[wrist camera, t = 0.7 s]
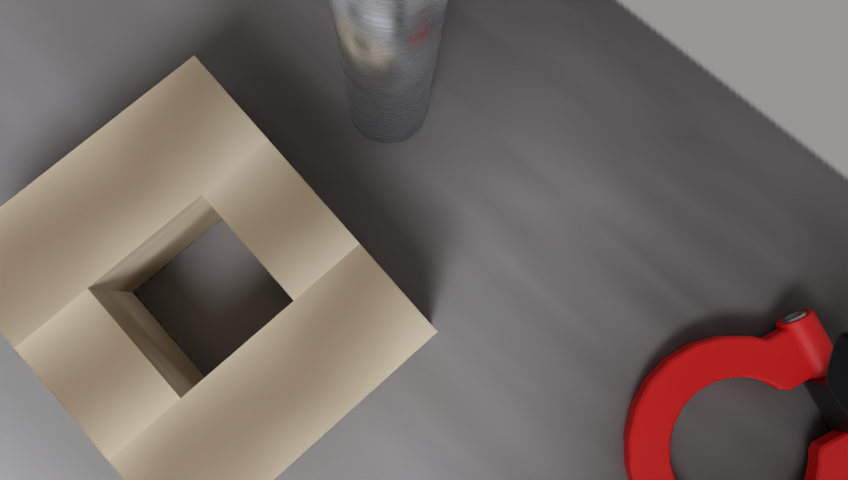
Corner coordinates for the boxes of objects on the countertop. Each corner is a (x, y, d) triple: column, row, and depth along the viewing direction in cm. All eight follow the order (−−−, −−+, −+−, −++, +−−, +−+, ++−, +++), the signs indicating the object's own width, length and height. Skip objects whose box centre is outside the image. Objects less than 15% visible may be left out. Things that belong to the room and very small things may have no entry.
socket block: (430, 329, 24) (437, 331, 20) (219, 519, 22) (188, 556, 19) (222, 92, 24) (194, 55, 21) (5, 265, 23) (-63, 256, 19)
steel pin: (460, 110, 25) (555, -154, 11) (383, 176, 24) (377, -11, 10) (392, 36, 25) (400, -319, 11) (315, 99, 24) (218, -187, 10)
